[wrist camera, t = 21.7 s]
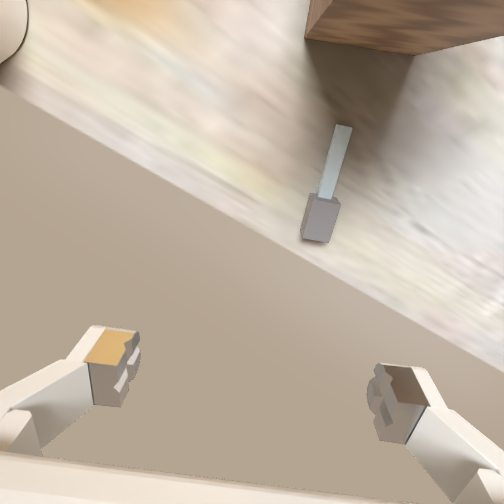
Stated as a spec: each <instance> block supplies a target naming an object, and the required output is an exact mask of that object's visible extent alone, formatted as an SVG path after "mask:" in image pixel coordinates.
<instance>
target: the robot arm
mask: <svg viewBox="0 0 504 504" xmlns="http://www.w3.org/2000/svg"><path fill="white" fill-rule="evenodd" d="M26 26H27V5H26V0H0V64H1V63H2V62H3V61H4V60H6V59H7V58H9V57H10V56H11V55H12V54H14V52H15V51H16V50H17V49H18V48H19V46H20V44H21V42H22V40H23V38H24V35H25V31H26ZM139 341H140V336H139V332H138V331H132V330H126V329H120V328H113V327H104V326H98V325H93V326H91V327H90V328H89V329H88V330H87V332H86V333H85V335H84V336H83V337H82V338H81V340H80V341H79V342H78V344H77V345H76V346H75V348H74V349H73V350H72V351H71V353H70V354H69V355H68V357H67V358H66V359H65V360H58V361H57V362H55V363H53V364H51V365H49V366H47V367H45V368H43V369H41V370H40V371H37V372H35V373H34V374H32V375H30V376H28V377H26V378H24V379H22V380H20V381H18V382H16V383H14V384H12V385H10V386H9V387H7V388H5V389H3V390H1V391H0V504H416V503H409V502H400V501H393V500H385V499H377V498H369V497H361V496H353V495H345V494H337V493H329V492H321V491H313V490H305V489H297V488H289V487H280V486H273V485H264V484H257V483H249V482H240V481H233V480H225V479H217V478H209V477H201V476H193V475H186V474H178V473H170V472H162V471H154V470H146V469H138V468H130V467H122V466H114V465H106V464H99V463H91V462H82V461H74V460H66V459H59V458H51V457H43V455H42V451H41V449H42V448H43V447H44V446H45V445H46V444H47V443H49V442H50V441H51V440H53V439H54V438H55V437H56V436H57V435H59V434H60V433H61V432H62V431H64V430H65V429H66V428H67V427H69V426H70V425H71V424H72V423H74V422H75V421H76V420H77V419H78V418H80V417H81V416H82V415H83V414H85V413H86V412H87V411H88V410H89V409H91V408H92V407H93V405H101V406H111V407H121V405H122V403H123V401H124V399H125V397H126V395H127V392H128V391H129V385H128V382H130V381H131V380H133V379H134V378H135V375H136V373H137V370H138V367H139V363H140V350H139V348H138V347H137V345H138V343H139ZM374 373H375V375H376V376H375V377H374V378H372V379H371V380H370V381H369V384H368V387H367V401H368V405H369V408H370V410H371V411H372V412H373V413H374V414H375V415H376V416H375V419H374V425H375V428H376V431H377V434H378V438H379V440H380V441H386V442H393V443H399V444H405V445H406V447H407V448H408V450H409V451H410V452H411V453H412V454H413V456H414V457H415V458H416V459H417V460H418V462H419V463H420V464H421V465H422V466H423V468H424V469H425V470H426V471H427V473H428V474H429V475H430V476H431V477H432V479H433V480H434V481H435V482H436V484H437V485H438V486H439V487H440V488H441V489H442V491H443V492H444V493H445V494H446V496H447V497H448V498H449V499H450V501H451V502H452V503H453V504H504V451H502V450H501V449H500V448H499V447H498V446H496V445H495V444H494V443H493V442H492V441H490V440H489V439H488V438H487V437H485V436H484V435H483V434H482V433H481V432H479V431H478V430H477V429H476V428H474V427H473V426H472V425H471V424H469V423H468V422H467V421H466V420H465V419H463V418H462V417H461V416H460V415H458V414H457V413H456V412H455V411H453V410H449V409H448V408H447V406H446V405H445V403H444V401H443V399H442V397H441V395H440V394H439V392H438V390H437V389H436V386H435V385H434V383H433V381H432V379H431V377H430V376H429V374H428V372H427V370H425V369H424V368H421V367H413V366H403V365H395V364H386V363H378V364H377V365H376V367H375V369H374Z"/></svg>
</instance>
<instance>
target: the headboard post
mask: <svg viewBox="0 0 504 504" xmlns="http://www.w3.org/2000/svg"><path fill="white" fill-rule="evenodd" d="M499 36H504V0H311V2H310V7H309V13H308V19H307V24H306V30H305V36H304V38H307V39H313V40H319V41H326V42H332V43H338V44H345V45H351V46H357V47H364V48H370V49H376V50H383V51H389V52H395V53H402V54H408V55H414V56H415V55H420V54H424V53H429V52H433V51H437V50H442V49H446V48H451V47H455V46H459V45H464V44H468V43H473V42H477V41H481V40H486V39H490V38H495V37H499Z"/></svg>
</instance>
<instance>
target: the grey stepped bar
mask: <svg viewBox="0 0 504 504" xmlns="http://www.w3.org/2000/svg"><path fill="white" fill-rule="evenodd" d="M352 129H353V128H352V127H349V126H344V125H339V124H336V126H335V130H334V134H333V137H332V141H331V144H330V148H329V152H328V155H327V159H326V162H325V166H324V170H323V173H322V177H321V180H320V184H319V187H318V191H317V194H313V193H310V195H309V199H308V203H307V206H306V210H305V214H304V218H303V221H302V225H301V229H300V230H301V234H302V238H304V239H310V240H315V241H321V242H326V243H329V241H330V238H331V235H332V231H333V228H334V225H335V222H336V219H337V216H338V213H339V209H340V206H341V204H340V203H339V201H338V200H337V198H334V197H332V196H333V192H334V189H335V186H336V182H337V179H338V176H339V172H340V169H341V166H342V162H343V159H344V156H345V152H346V149H347V146H348V143H349V139H350V136H351V133H352Z"/></svg>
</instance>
